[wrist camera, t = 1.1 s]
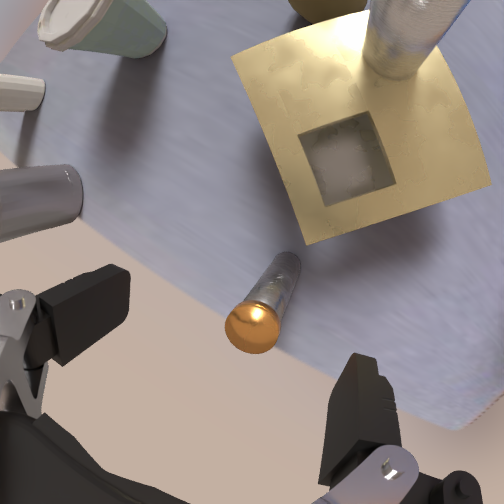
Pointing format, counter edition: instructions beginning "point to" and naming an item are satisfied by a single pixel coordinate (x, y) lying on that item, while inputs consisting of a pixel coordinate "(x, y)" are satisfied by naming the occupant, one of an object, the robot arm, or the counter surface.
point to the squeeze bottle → (326, 8)
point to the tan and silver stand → (365, 115)
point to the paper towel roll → (20, 93)
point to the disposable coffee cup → (102, 26)
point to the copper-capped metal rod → (264, 307)
